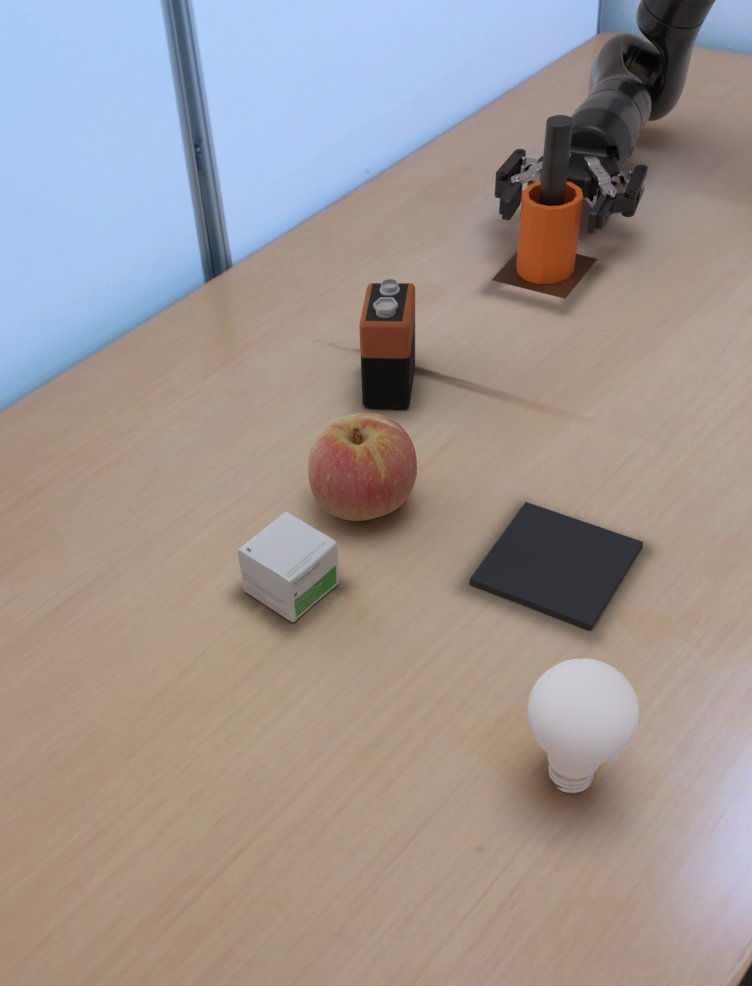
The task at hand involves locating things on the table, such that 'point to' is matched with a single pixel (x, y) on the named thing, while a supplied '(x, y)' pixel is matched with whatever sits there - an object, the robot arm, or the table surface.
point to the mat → (557, 565)
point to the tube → (548, 236)
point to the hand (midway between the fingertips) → (548, 217)
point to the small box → (289, 566)
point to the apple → (362, 466)
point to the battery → (387, 344)
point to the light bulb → (581, 719)
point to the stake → (552, 195)
